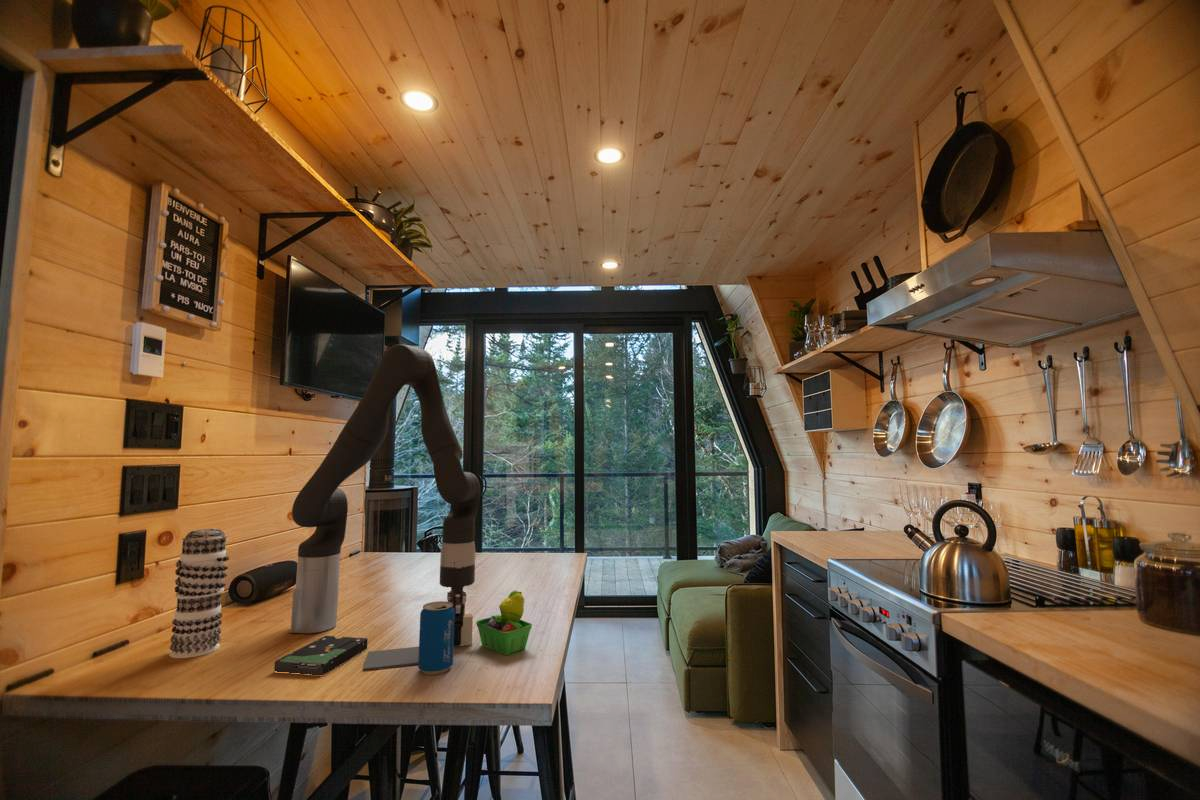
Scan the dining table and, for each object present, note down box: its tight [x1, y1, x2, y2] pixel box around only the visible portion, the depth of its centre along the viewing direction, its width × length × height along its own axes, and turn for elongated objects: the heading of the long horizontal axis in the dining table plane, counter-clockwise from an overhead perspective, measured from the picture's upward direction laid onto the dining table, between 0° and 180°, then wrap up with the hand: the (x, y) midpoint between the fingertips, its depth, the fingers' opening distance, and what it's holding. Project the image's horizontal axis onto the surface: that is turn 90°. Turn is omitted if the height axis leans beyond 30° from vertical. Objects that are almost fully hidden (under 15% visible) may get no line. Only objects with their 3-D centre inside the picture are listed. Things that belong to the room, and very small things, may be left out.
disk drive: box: [273, 635, 369, 676], centre depth 105 cm, size 10×3×15 cm
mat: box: [362, 646, 419, 671], centre depth 106 cm, size 11×9×1 cm
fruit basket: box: [475, 590, 533, 656], centre depth 114 cm, size 11×9×11 cm
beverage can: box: [417, 600, 455, 675], centre depth 102 cm, size 6×6×12 cm
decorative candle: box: [168, 528, 230, 659], centre depth 111 cm, size 9×9×25 cm
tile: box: [454, 613, 474, 647], centre depth 114 cm, size 7×2×6 cm, turn 108°
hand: (455, 643), depth 114 cm, fingers closed on tile, 2 cm apart
